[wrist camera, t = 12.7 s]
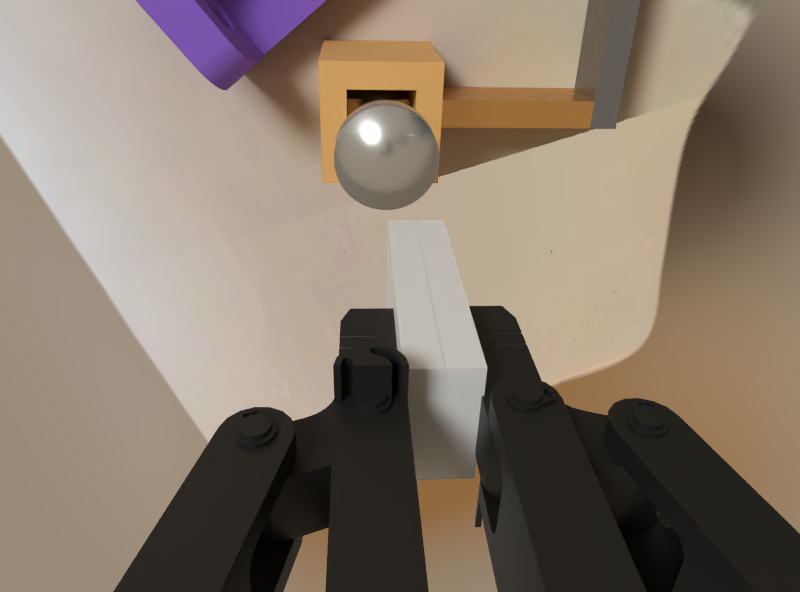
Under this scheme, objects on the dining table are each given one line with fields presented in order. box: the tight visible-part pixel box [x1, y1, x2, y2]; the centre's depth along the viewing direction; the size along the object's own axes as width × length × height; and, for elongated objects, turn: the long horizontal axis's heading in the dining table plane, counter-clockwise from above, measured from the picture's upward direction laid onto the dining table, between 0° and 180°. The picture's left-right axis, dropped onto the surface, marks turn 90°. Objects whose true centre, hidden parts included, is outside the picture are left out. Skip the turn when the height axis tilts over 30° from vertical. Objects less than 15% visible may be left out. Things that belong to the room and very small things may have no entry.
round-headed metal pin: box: [334, 90, 439, 210], centre depth 30 cm, size 4×4×9 cm
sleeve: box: [318, 40, 445, 183], centre depth 34 cm, size 6×6×7 cm
